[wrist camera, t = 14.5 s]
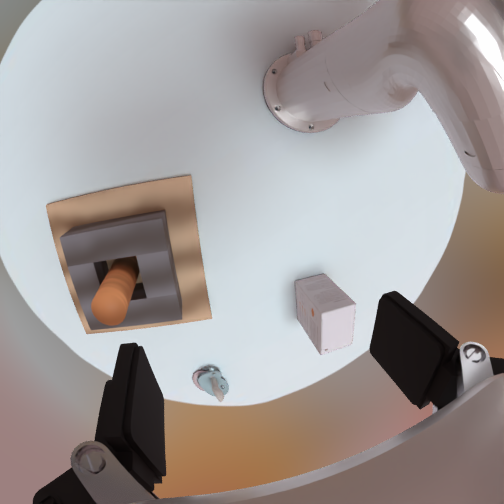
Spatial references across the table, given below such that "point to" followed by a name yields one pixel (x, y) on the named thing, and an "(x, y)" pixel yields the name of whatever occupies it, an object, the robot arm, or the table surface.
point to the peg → (116, 291)
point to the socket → (134, 251)
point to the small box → (325, 313)
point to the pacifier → (211, 383)
